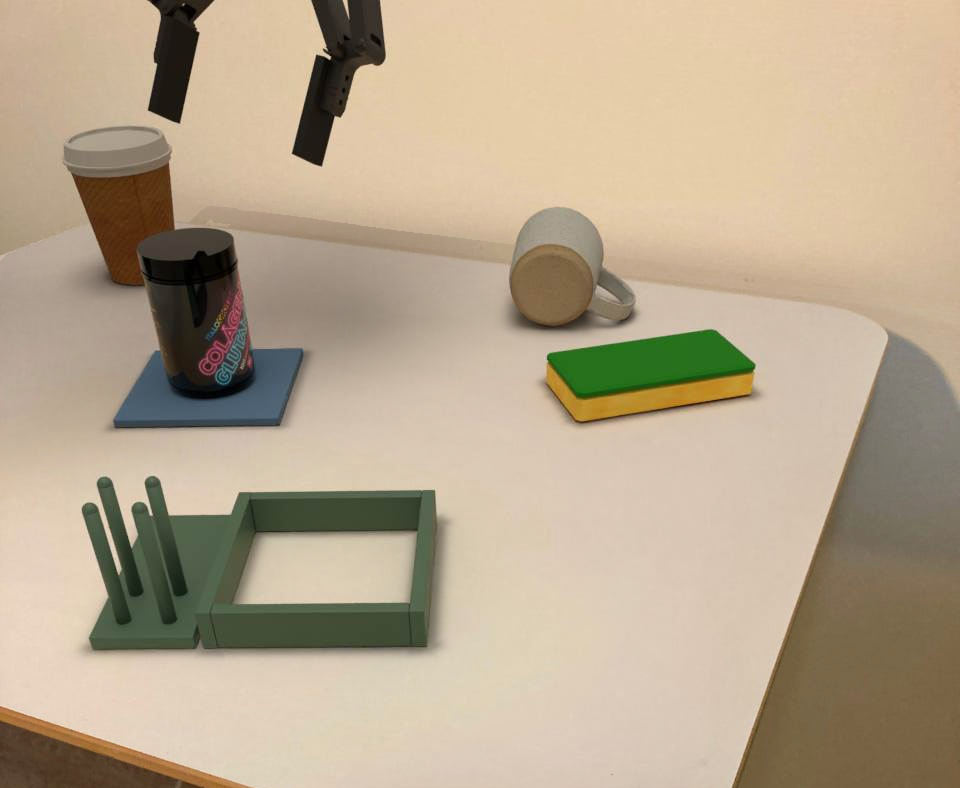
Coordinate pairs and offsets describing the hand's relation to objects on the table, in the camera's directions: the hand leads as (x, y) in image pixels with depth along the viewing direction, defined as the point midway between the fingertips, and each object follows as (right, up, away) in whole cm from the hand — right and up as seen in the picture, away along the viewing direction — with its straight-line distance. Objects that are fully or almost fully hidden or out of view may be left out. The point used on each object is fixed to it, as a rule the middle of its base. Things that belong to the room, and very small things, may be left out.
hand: (233, 138), depth 76 cm
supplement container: (-2, -17, +3) cm, 18 cm away
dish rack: (+6, -33, -16) cm, 37 cm away
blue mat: (-2, -17, +4) cm, 18 cm away
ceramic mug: (+26, -8, +14) cm, 31 cm away
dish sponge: (+31, -18, +2) cm, 36 cm away
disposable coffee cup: (-14, -2, +23) cm, 27 cm away
